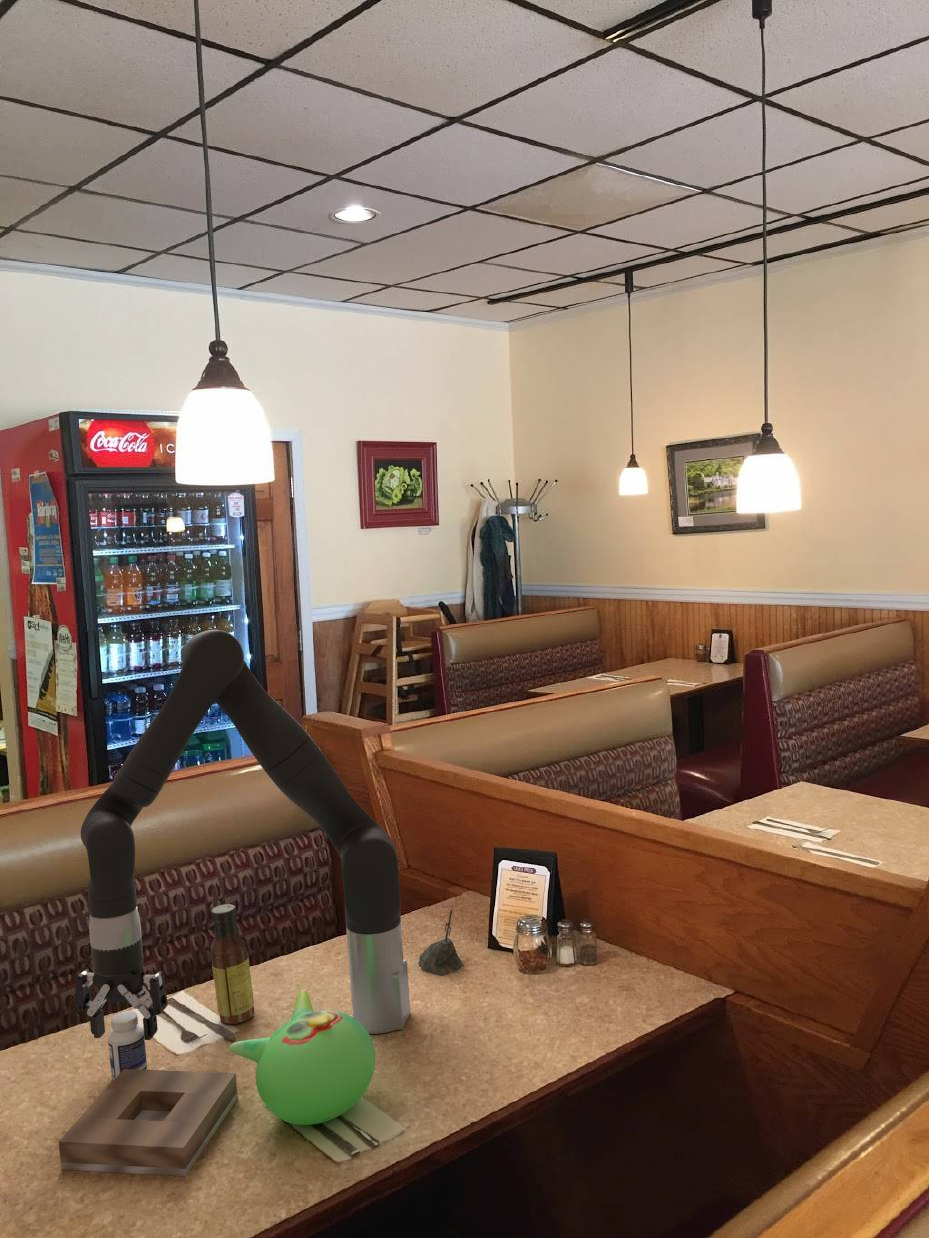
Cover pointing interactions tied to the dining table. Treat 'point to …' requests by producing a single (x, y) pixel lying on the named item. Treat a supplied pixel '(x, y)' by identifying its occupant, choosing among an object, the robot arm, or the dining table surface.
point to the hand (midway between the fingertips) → (124, 1036)
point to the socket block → (149, 1122)
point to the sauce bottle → (231, 968)
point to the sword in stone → (441, 956)
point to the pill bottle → (126, 1043)
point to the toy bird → (311, 1064)
